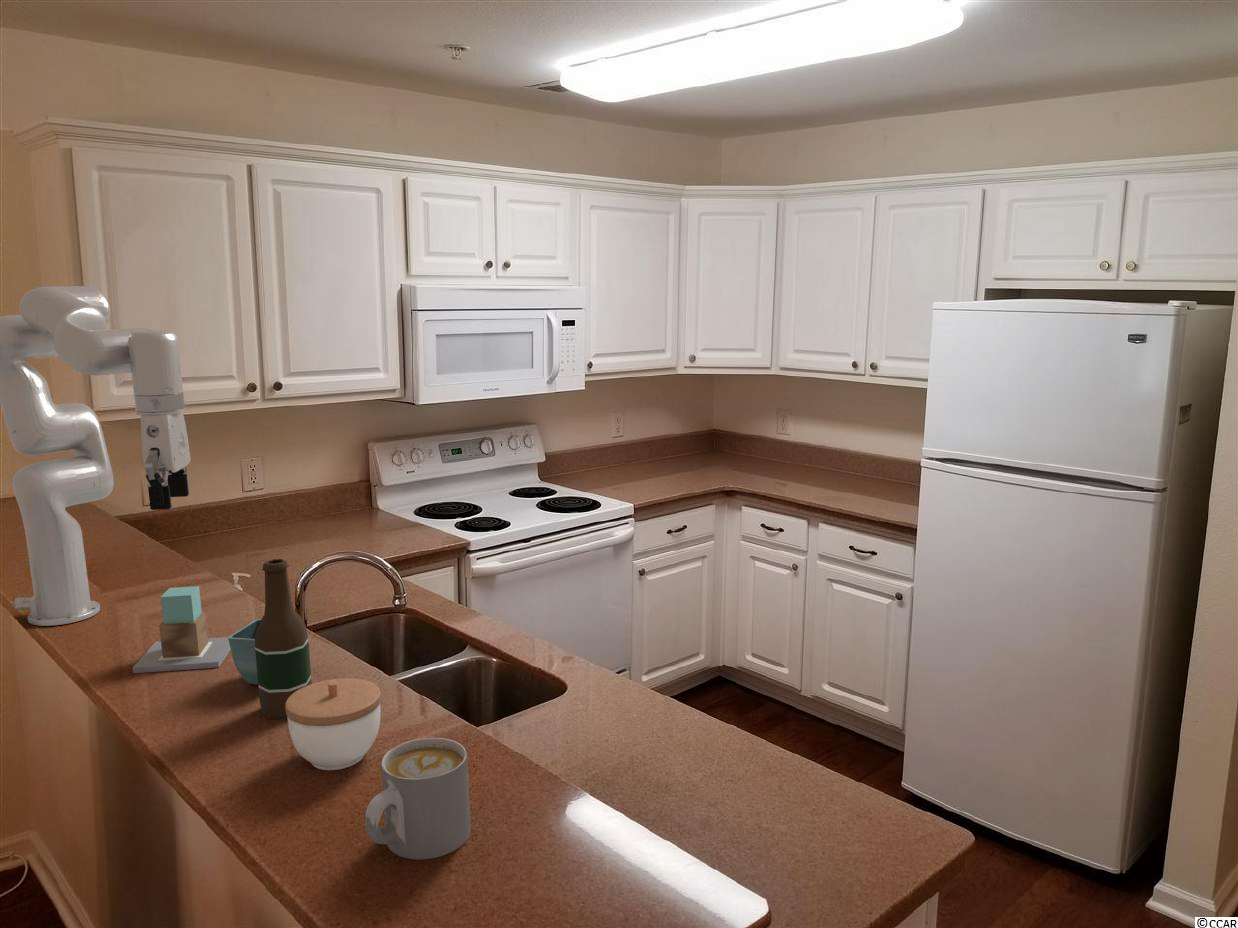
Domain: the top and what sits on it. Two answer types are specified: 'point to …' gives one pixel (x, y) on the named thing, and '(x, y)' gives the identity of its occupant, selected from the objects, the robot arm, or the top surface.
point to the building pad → (184, 658)
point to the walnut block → (184, 638)
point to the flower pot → (245, 651)
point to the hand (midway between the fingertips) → (170, 502)
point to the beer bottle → (280, 644)
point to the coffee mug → (422, 799)
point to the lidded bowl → (334, 721)
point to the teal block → (181, 605)
